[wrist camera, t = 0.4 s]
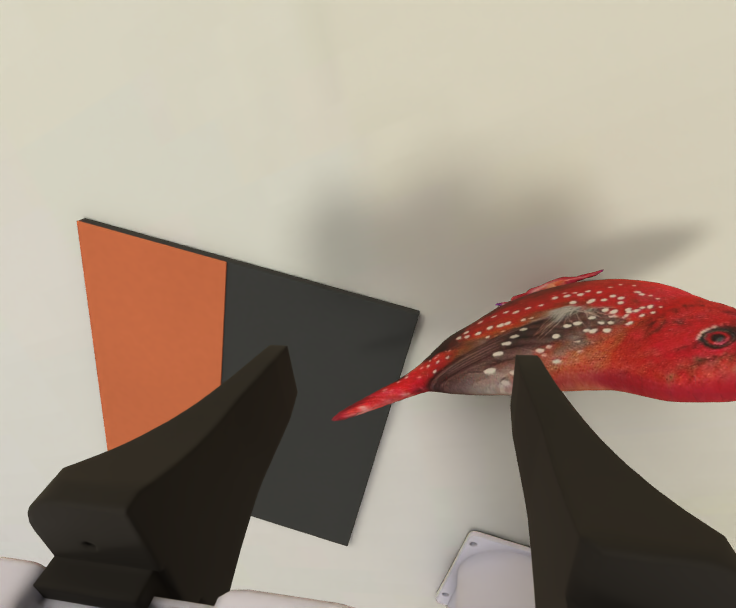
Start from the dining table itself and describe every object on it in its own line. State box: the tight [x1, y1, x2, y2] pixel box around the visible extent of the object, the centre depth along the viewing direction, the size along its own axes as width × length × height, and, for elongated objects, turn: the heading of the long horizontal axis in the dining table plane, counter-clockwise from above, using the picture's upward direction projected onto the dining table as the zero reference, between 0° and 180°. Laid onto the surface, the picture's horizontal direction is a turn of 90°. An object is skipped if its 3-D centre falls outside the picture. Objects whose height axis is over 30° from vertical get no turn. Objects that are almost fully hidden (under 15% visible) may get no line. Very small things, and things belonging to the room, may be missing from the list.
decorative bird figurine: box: [331, 270, 736, 421], centre depth 20 cm, size 3×18×10 cm, turn 118°
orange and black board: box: [77, 218, 419, 546], centre depth 31 cm, size 20×22×1 cm
